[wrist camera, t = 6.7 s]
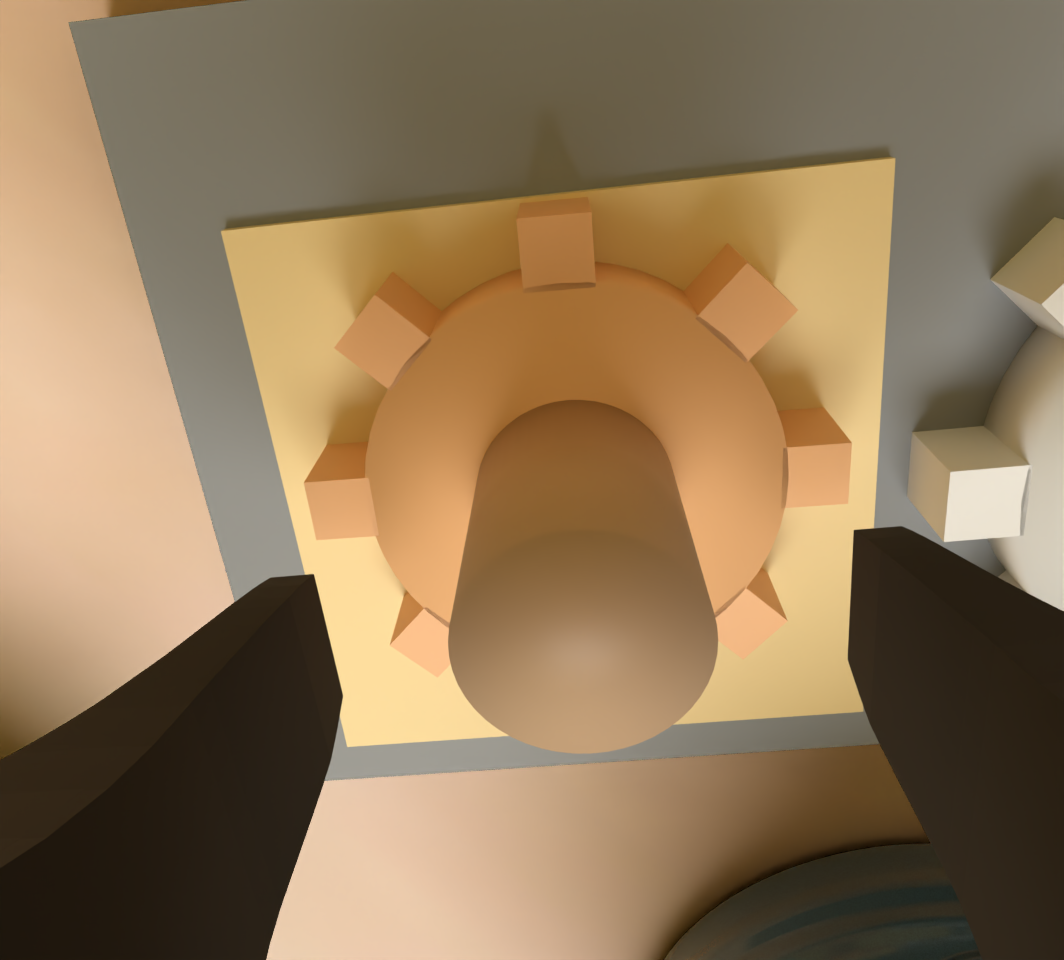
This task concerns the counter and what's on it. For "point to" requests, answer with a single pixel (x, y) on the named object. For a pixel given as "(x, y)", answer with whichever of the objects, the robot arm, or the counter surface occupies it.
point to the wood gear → (577, 481)
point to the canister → (840, 913)
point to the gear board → (618, 238)
